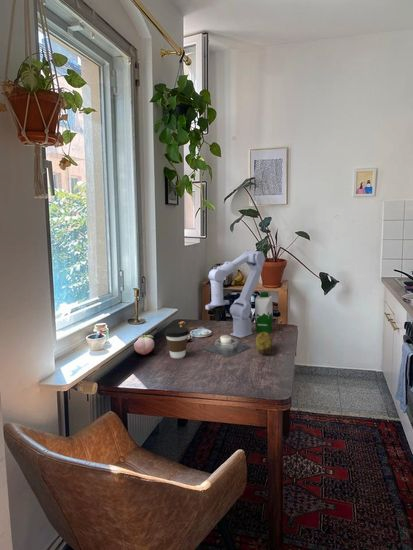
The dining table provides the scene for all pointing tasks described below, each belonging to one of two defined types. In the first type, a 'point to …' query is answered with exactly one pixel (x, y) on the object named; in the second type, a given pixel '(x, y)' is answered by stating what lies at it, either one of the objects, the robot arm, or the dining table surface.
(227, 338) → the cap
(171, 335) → the coffee cup
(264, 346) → the yellow oval piece
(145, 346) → the decorative fruit
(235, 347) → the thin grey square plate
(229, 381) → the dining table surface
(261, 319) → the milk carton
